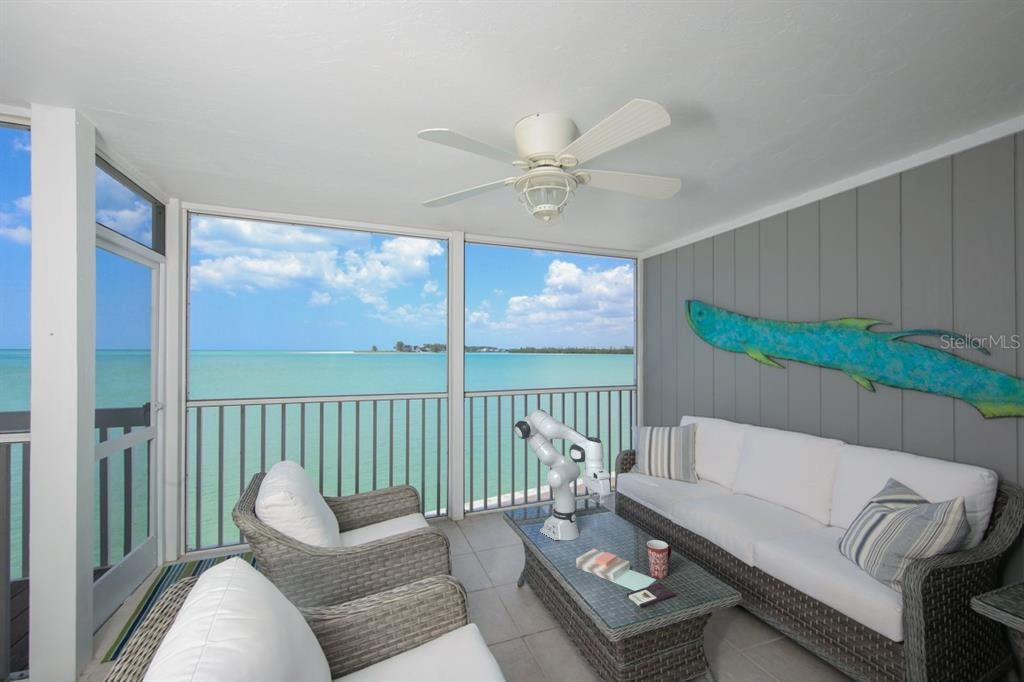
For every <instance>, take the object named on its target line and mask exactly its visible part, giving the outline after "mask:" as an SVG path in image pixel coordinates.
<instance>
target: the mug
mask: <svg viewBox="0 0 1024 682" xmlns="http://www.w3.org/2000/svg"><path fill="white" fill-rule="evenodd" d="M646 545H647V552H648V562H649V573H650V575H651V576H652V578H653V577H654V578H657V579H664V578H667V577H668V565H669V562H670V559H671V557H672V552H673V551H672V546H671V545H670V544H668V543H667V542H665V541H663V540H659V539H658V540H657V539H652V540H648V541H647V542H646Z"/></svg>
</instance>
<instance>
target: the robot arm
mask: <svg viewBox="0 0 1024 682" xmlns="http://www.w3.org/2000/svg"><path fill="white" fill-rule="evenodd" d="M514 433H515V434H516V435H517V437H518V438H519V439H520V440H526V441H527V443H528V445H529V447H530V449H531V450H532V452H533V453H534V454H535V456H536V457H537V458H538V460H539V461H540V462H541V463H542V464H543V465H544V466H547V467H548V468H551V469H550V470H549V471H548V472H547V474H546V477H545V478H546V483H547V484H548V486H549V487H550V488H552V491H553V495H554V508H553V509H551V511H550V512H551V513H552V515H551V516H549V517H548V518H547V519H545V521H544V524H543V526H542V527H541V528H540V529H539V533H540V532H541V533H540V534H542V533H543V534H542V535H544V534H545V535H544V536H546V535H547V536H546V537H548V538H549V537H550V538H549V539H551V538H552V539H551V540H553V539H554V541H555V540H560V541H573V540H576V539H578V538H579V537H580V533H579V530H578V525H577V509H576V497H575V494H574V493H573V492H572V491H571V487H570V485H571V483H573V482H575V481H576V480H577V479H578V478H579V477H580V476H581V471H582V470H581V467H580V465H579V464H578V463H585V468H584V471H583V473H582V484H583V486H584V487H585V488H586V489H587V492H588V497H589V498H592V499H593V498H594V493H597V494H598V495H599V498H598V502H599V503H600V504H604V502H605V500H604V499H605V498H606V497H607V496H609V495H610V493H611V484H610V480H609V479H610V478H611V474H610V473H609V472H608V470H607V469H606V468H605V463H604V457H605V456H604V445H603V442H602V440H601V439H600V438H598V437H595V436H594V437H593V436H588V437H587V436H585V435H584V434H583V433H581V432H579V431H577V430H576V429H574V428H573V427H570V426H568V425H566V424H564V423H562V422H561V421H559V420H557V419H556V418H555V417H553V416H552V415H550V414H549V413H547V411H545V410H544V409H535V410H534V411H532V412H531V413H529V414H528V415H527V416H525V417H523V418H522V419H521V420H518V421H517V422H516V423H515V424H514ZM550 440H566V441H569V442H571V443H573V444H571V445H570V446H569V450H568V451H569V453H568V454H569V457H570V459H571V460H570V459H568V458H567V457H566V456H565V455H563V454H562V453H561V452H559V450H558V449H556V447H555V446H554V445H553V443H552V442H551V441H550ZM593 492H594V493H593Z"/></svg>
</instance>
